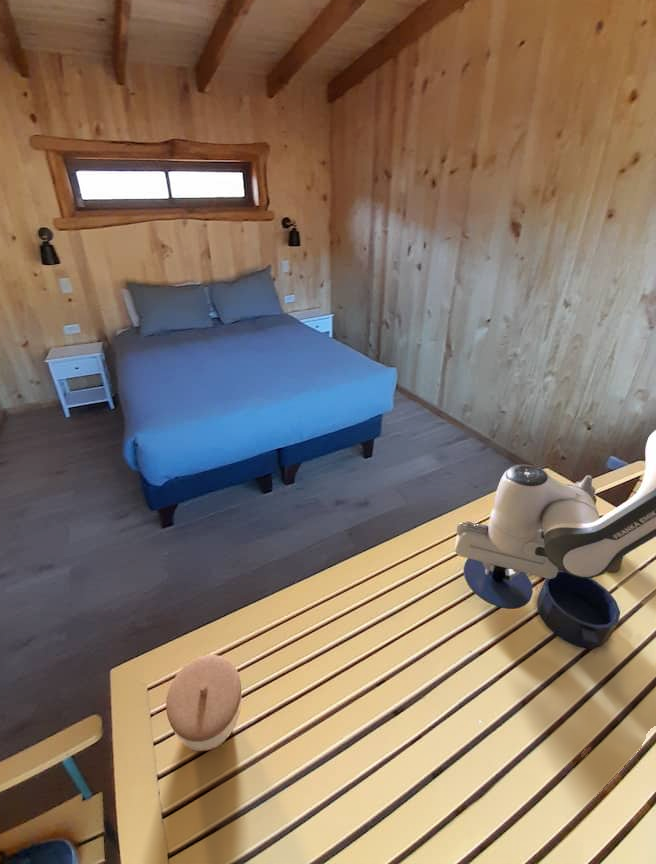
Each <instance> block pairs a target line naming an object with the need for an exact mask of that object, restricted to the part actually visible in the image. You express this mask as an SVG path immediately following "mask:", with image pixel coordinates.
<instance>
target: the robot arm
mask: <svg viewBox="0 0 656 864" xmlns="http://www.w3.org/2000/svg"><path fill="white" fill-rule="evenodd" d="M644 457H645V464H644V473H643V478H642V481H641V484H640V486H639V488H638V490H637V491H636V492H635V494H634V495H633V496H632V497H630V498H628V500H626V501H625V502H623V503H621V504H620V505H619V506H617V507H615V508H613V509H612V510H611V511H609V512H608V513H606V514H605V515H603V516H600V514H599V510H598V508H597V504H596V505H595V503H594V500H593V498H592V497H591V495H590V494H589V493H587V492H586V491H585V490H583V489H581V488H579V487H576V486H574V484H566V483H564V482H561V481H558V480H557V479H555V478H553V477H552V476H550V475H549V473H547V471H546V470H544V469H543V468H540V467H539V466H536V465H533V464H522V463H521V464H515V465H513V466H510V467H509V468H508V469H506V470H505V472H504V473H503V474H502V476H501V478H500V480H499V482H498V486H497V488H496V492H495V494H494V495H495V496H494V499H493V501H494V507H493V508H492V510H491V512H490V515H489V519H488V524H487V525H485V524H480V523H474V522H471V521H465V522H460V523H458V524H457V527H456V538H455V541H454V552H455V554H456V555H457V556H459V557H462V558H465V559H468V558H469V559H473V560H477V561H481V562H483V565H484V566H485V568H486V570H485V571H486V575H489V576H493V574H494V566H493V565H497V566H500V567H504V568H508V569H506V572H505V575H504V579H505V580H508V581H511V580H512V577H514V576H516V575H518V574H520V572H524V573H526V574H527V575H528V574H529V575H533V576H537V577H539V578H543V579H545V578H547V579H552V578H555V577H556V576H557V573H558V569H560V570H562V571H563V572H565V573H567V574H570V575H572V576H576V577H580V578H592V579H593V578H596V577H599V576H602V575H604V574H606V573H608V572H607V571H608V570H610V569H611V568H612V567H613V566H614V565H615V564H616V563H617V562H618V561H619V560H620V559H621V558H622V557H623V558H624V557H625V556H626V555H628V554H630V553H631V552H632V551H634V550H636V549H637V548H639V547H641V546H643V545H644V544H646V543H647V542H649V541H651V540H653V539H655V538H656V429H655V430H654V431H652V432H651V434H650V435H649V436H648V439H647V440H646V443H645V450H644ZM490 564H493V565H490Z"/></svg>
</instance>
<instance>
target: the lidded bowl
mask: <svg viewBox="0 0 656 864" xmlns="http://www.w3.org/2000/svg"><path fill="white" fill-rule="evenodd" d="M165 709H166V711H165V712H166V717H167V719H168V722H169V724H170V727H171V728H172V730H173V733H174V734H175V736H176V737H177V739H178V741H180V742H181V743H182V744H183V745H184V746H185V747H187V748H188V749H190V750H192V751H197V752H204V751H205V752H207V751H210V750H213V749H215V748H217V747H218V746H220V745H222V744H223V743H224V742H225V741H226V740H227V739H228V738H229V737H230V735H231V734H232V732H233V731H234V729H235V728H236V726H237V723H238V720H239V718H240V714H241V709H242V682H241V677H240V674H239V671H238V669H237V668H236V666H235V665H234V664H233V663H232V662H231V661H230V660H229V659H227V658H226V657H224V656H221V655H217V654H206V655H201V656H198V657H196V658H194V659H191V661H189V662H188V663H186V664H185V665H184V666H182V668H181V669H180V670H179V671H178V672H177V674H176V675H175V676H174V678H173V680H172V682H171V684H170V686H169V688H168V691H167V695H166V700H165Z"/></svg>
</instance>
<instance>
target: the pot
mask: <svg viewBox="0 0 656 864" xmlns="http://www.w3.org/2000/svg"><path fill="white" fill-rule="evenodd" d="M536 610H537V613H538V615H539V617H540V619H541V621H542V622H543V623H544V625H545V626H546V628H547V629H548V630H550V631H551V632H552V633H553V634H554V635H556V637H558V638H559V639H560V640H562V641H564V642H565V643H567V644H569V645H572V646H575V647H577V648H580V649H585V650H595V649H599V648H601V647H603V646H604V645H606V643H607V642H608V641H609V640H610V638H611V636H612V635H613V633H614V631H615V629H616V627H617V625H618V623H619V622H620V621H619V620H620V615H621V610H620V608H619V605H618V602H617V601H616V599H615V598H614V596H612V594H611V593H610V591H609V590H608V589H607V588H606V587H604V586H602V585H601V584H600V583H599V582H598V581H597V580H596V579H594V578H593V577H592V578H580V577H576V576H572V575H570V574H567V573H565V572H563V571H562V570H558V573H557V576H556V577H555V578H552V579H547V578H544V581H543V583H542V586H541V588H540V591H539V593H538V596H537V598H536Z"/></svg>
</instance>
